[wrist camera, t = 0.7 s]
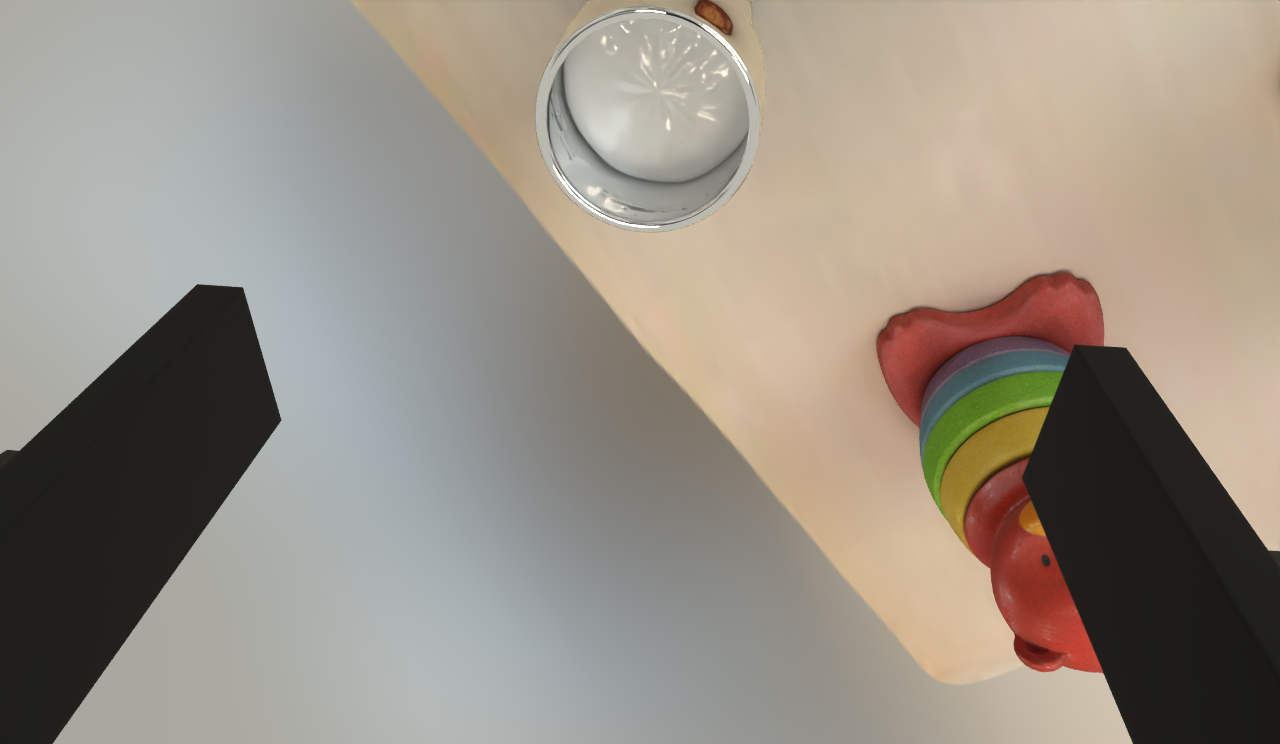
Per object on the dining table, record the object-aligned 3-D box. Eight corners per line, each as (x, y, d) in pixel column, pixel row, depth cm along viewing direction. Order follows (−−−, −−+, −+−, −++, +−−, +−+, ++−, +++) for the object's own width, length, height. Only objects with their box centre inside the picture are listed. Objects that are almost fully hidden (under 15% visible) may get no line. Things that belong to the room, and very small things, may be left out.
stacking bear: (1091, 259, 40) (1290, 514, 25) (1110, 420, 45) (1285, 711, 30) (867, 319, 43) (928, 577, 29) (908, 463, 48) (978, 746, 33)
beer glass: (656, 131, 39) (613, 276, 27) (572, -6, 36) (478, 86, 24) (790, 50, 36) (811, 169, 24) (710, -104, 34) (687, -59, 21)
